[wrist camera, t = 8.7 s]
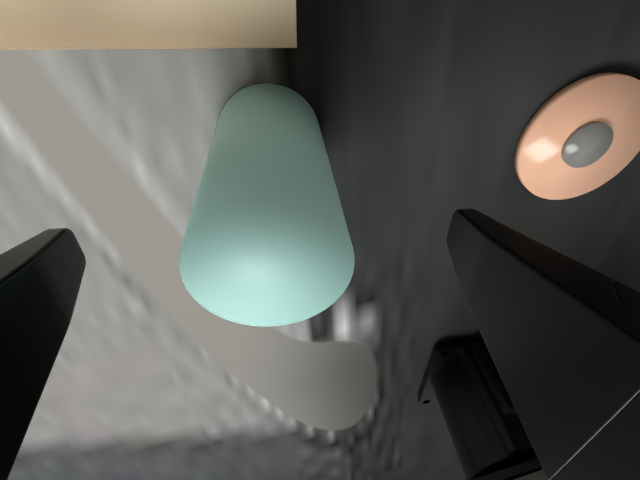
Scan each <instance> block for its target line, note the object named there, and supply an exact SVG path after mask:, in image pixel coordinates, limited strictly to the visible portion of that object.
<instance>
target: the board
mask: <svg viewBox="0 0 640 480" xmlns="http://www.w3.org/2000/svg"><path fill="white" fill-rule="evenodd" d="M200 48H297V28H296V0H0V50H50V49H200Z"/></svg>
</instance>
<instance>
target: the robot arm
mask: <svg viewBox="0 0 640 480" xmlns="http://www.w3.org/2000/svg"><path fill="white" fill-rule="evenodd" d="M447 245H448V249H449V252H450V255H451V258H452V261H453V264H454V267H455V271H456V274H457V277H458V280H459V283H460V286H461V289H462V292H463V295H464V297H465V300H466V302H467V304H468V306H469V309H470V311H471V313H472V315H473V317H474V320H475V322H476V324H477V326H478V328H479V331H480V333H481V335H482V337H483V339H477V340H465V341H453V342H443V343H439V344H437V345H436V346H435V347H434V349H433V352H432V355H431V358H430V361H429V364H428V367H427V370H426V373H425V376H424V379H423V382H422V385H421V388H420V391H419V394H418V401H419V404H420V405H422V406H427V405H437V404H439V406H440V408H441V411H442V414H443V416H444V419H445V422H446V425H447V427H448V430H449V433H450V435H451V438H452V441H453V444H454V446H455V449H456V452H457V454H458V457H459V460H460V462H461V465H462V468H463V471H464V473H465V476H466V479H467V480H640V292H638V291H636V290H634V289H632V288H630V287H628V286H626V285H624V284H622V283H620V282H618V281H616V280H614V281H612V279H611V278H610V277H608V276H606V275H604V274H602V273H600V272H598V271H596V270H594V269H592V268H590V267H588V266H586V265H584V264H582V263H580V262H578V261H576V260H574V259H572V258H570V257H568V256H566V255H564V254H562V253H560V252H558V251H556V250H554V249H552V248H550V247H548V246H546V245H544V244H542V243H540V242H538V241H536V240H534V239H532V238H530V237H528V236H526V235H524V234H522V233H520V232H518V231H516V230H514V229H512V228H510V227H508V226H506V225H504V224H502V223H500V222H498V221H496V220H494V219H492V218H490V217H488V216H487V215H485V214H483V213H481V212H479V211H477V210H475V209H458V210H456V211H455V212H454V214H453V217H452V220H451V224H450V227H449V231H448V235H447ZM85 265H86V260H85V256H84V253H83V251H82V249H81V247H80V245H79V243H78V241H77V239H76V237H75V235H74V233H73V232H72V231H71V230H70V229H67V228H59V229H48V230H46V231H44V232H42V233H40V234H38V235H36V236H34V237H33V238H31V239H29V240H27V241H25V242H23V243H21V244H19V245H18V246H16V247H14V248H12V249H10V250H8V251H6V252H5V253H3V254H1V255H0V480H7V479H8V476H9V474H10V471H11V469H12V467H13V464H14V462H15V459H16V457H17V454H18V452H19V449H20V447H21V444H22V442H23V439H24V437H25V434H26V432H27V429H28V427H29V424H30V422H31V419H32V417H33V414H34V412H35V409H36V407H37V404H38V402H39V399H40V397H41V394H42V392H43V389H44V387H45V385H46V382H47V380H48V377H49V375H50V372H51V370H52V367H53V365H54V362H55V360H56V357H57V355H58V352H59V350H60V347H61V345H62V342H63V340H64V337H65V335H66V332H67V330H68V327H69V324H70V321H71V318H72V315H73V311H74V307H75V304H76V300H77V296H78V292H79V289H80V285H81V281H82V277H83V273H84V270H85Z"/></svg>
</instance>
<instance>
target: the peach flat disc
mask: <svg viewBox="0 0 640 480" xmlns="http://www.w3.org/2000/svg"><path fill="white" fill-rule="evenodd" d="M639 150H640V80H638V79H636V78H634V77H631V76H628V75H625V74H621V73H614V72H607V73H599V74H594V75H591V76H588V77H585V78H582V79H580V80H578V81H575V82H573V83H571V84H570V85H568V86H566V87H565V88H563V89H562V90H560V91H559V92H557V93H556V94H555V95H553V96H552V97H551V98H550V99H549V100H547V101H546V102H545V103H544V104H543V105H542V106H541V107H540V108H539V109H538V111H537V112H536V113H535V114H534V115H533V117H532V118H531V119H530V121H529V122H528V124H527V125H526V127H525V129H524V130H523V132H522V134H521V136H520V139H519V141H518V144H517V147H516V152H515V162H514V165H515V171H516V174H517V177H518V179H519V180H520V182H521V183H522V184H523V185H524V186H525V187H526V188H527V189H528V190H529V191H530V192H531V193H533V194H534V195H536V196H538V197H541V198H544V199H550V200H561V199H568V198H573V197H576V196H580V195H583V194H585V193H587V192H590V191H592V190H594V189H596V188H598V187H599V186H601V185H603V184H604V183H606V182H607V181H609V180H610V179H612V178H613V177H614V176H615V175H617V174H618V173H619V172H620V171H621V170H622V169H624V168H625V167H626V166H627V165H628V164H629V162H630V161H631V160H632V159H633V158H634V157H635V156H636V154H637V153H638V152H639Z"/></svg>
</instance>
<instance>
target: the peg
mask: <svg viewBox="0 0 640 480" xmlns="http://www.w3.org/2000/svg"><path fill="white" fill-rule="evenodd" d="M179 270H180V275H181V278H182V280H183V283H184V285H185V287H186V289H187V290H188V292H189V293H190V294H191V295H192V297H193V298H194V299H195V300H196V301H197V302H198V303H199V304H200V305H201V306H203V307H204V308H205V309H207V310H208V311H210V312H212V313H213V314H215V315H217V316H219V317H222V318H224V319H227V320H230V321H232V322H236V323H240V324H244V325H252V326H280V325H287V324H292V323H296V322H299V321H302V320H305V319H308V318H310V317H313V316H315V315H317V314H318V313H320V312H322V311H323V310H325V309H327V308H328V307H329V306H331V305H332V304H333V303H334V302H335V301H336V300H337V299H338V298H339V297H340V296H341V295H342V294H343V292H344V291H345V290H346V288H347V286H348V284H349V283H350V280H351V278H352V275H353V270H354V251H353V247H352V243H351V239H350V236H349V232H348V229H347V225H346V221H345V218H344V214H343V210H342V207H341V203H340V199H339V196H338V192H337V189H336V185H335V181H334V178H333V174H332V170H331V167H330V163H329V159H328V156H327V152H326V148H325V145H324V141H323V138H322V134H321V130H320V127H319V123H318V120H317V117H316V115H315V113H314V110H313V109H312V107H311V106H310V104H309V103H308V102H307V101H306V100H305V99H304V98H303V97H302V96H301V95H300V94H298V93H297V92H295V91H294V90H292V89H289V88H287V87H285V86H282V85H277V84H270V83H263V84H255V85H251V86H248V87H246V88H244V89H242V90H240V91H238V92H237V93H236V94H234V95H233V96H232V97H231V98H230V99H229V100H228V101H227V102H226V104H225V105H224V107H223V109H222V111H221V113H220V116H219V119H218V122H217V125H216V129H215V132H214V136H213V139H212V143H211V146H210V149H209V153H208V156H207V160H206V163H205V167H204V170H203V174H202V177H201V180H200V184H199V187H198V191H197V194H196V198H195V201H194V205H193V208H192V211H191V215H190V218H189V222H188V225H187V229H186V232H185V236H184V239H183V242H182V246H181V250H180V255H179Z"/></svg>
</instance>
